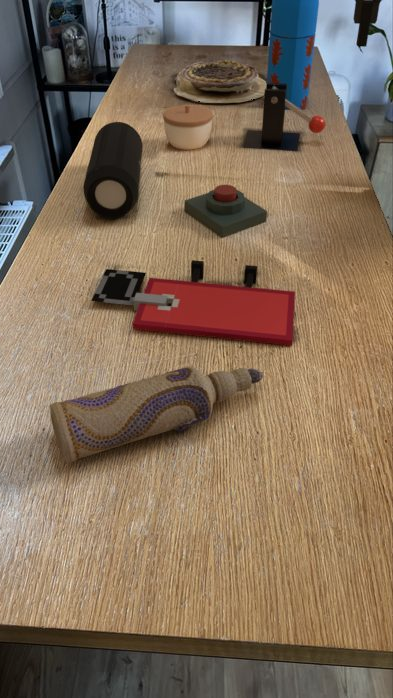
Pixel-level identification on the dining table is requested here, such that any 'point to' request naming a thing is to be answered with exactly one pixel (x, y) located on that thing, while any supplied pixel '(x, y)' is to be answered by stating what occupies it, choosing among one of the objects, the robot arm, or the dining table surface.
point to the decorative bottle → (142, 409)
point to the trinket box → (187, 126)
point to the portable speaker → (114, 171)
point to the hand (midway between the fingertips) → (361, 44)
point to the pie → (219, 82)
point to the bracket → (273, 123)
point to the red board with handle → (203, 306)
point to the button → (225, 193)
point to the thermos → (292, 47)
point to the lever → (307, 117)
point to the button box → (225, 213)
